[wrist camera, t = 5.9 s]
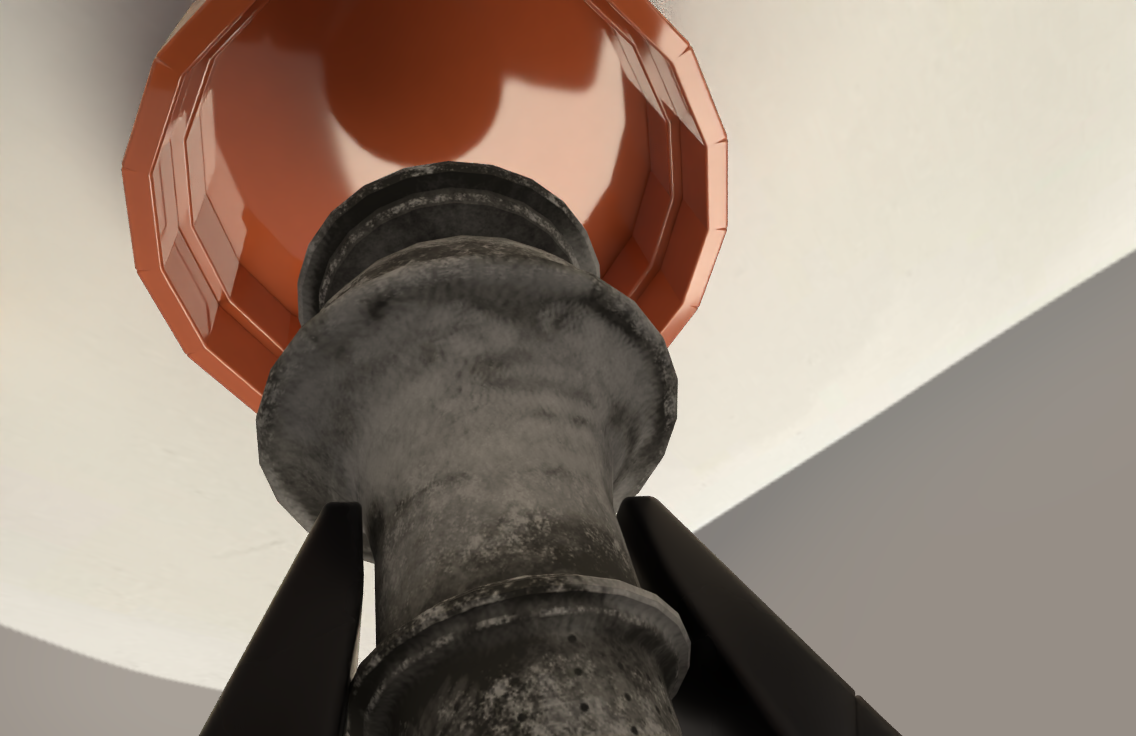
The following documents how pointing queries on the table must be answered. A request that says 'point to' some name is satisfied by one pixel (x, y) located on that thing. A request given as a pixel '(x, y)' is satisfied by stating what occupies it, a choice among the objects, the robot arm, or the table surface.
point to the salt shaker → (481, 457)
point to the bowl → (410, 147)
